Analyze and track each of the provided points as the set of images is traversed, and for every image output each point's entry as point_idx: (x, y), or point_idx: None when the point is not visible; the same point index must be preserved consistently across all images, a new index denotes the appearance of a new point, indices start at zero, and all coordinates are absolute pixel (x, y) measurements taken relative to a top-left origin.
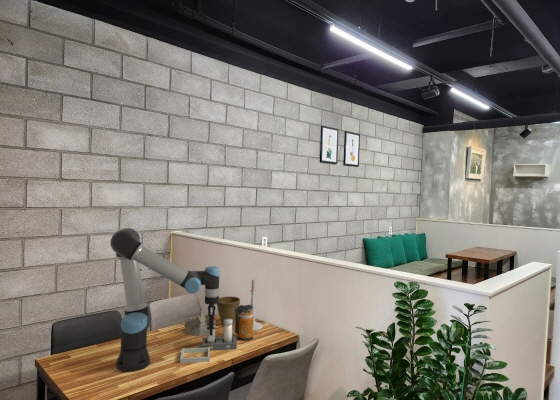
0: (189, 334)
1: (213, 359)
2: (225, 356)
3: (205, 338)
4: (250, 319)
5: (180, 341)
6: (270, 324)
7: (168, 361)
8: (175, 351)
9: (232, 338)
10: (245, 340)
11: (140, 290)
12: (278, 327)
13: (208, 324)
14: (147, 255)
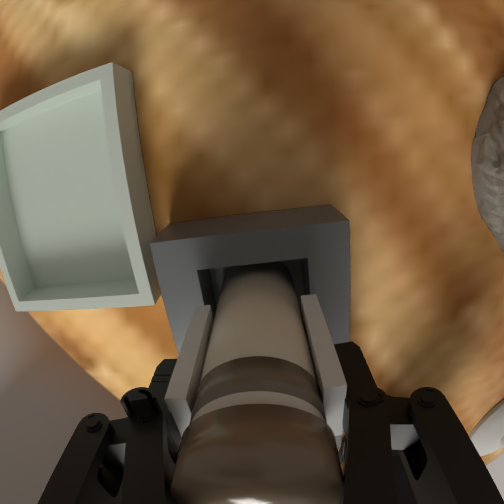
0: (499, 90)
1: (83, 314)
2: (136, 375)
3: (328, 253)
4: None
5: (402, 19)
6: (489, 461)
7: (40, 33)
8: (193, 7)
9: None
10: (339, 455)
11: None
12: None
13: (180, 445)
14: None
